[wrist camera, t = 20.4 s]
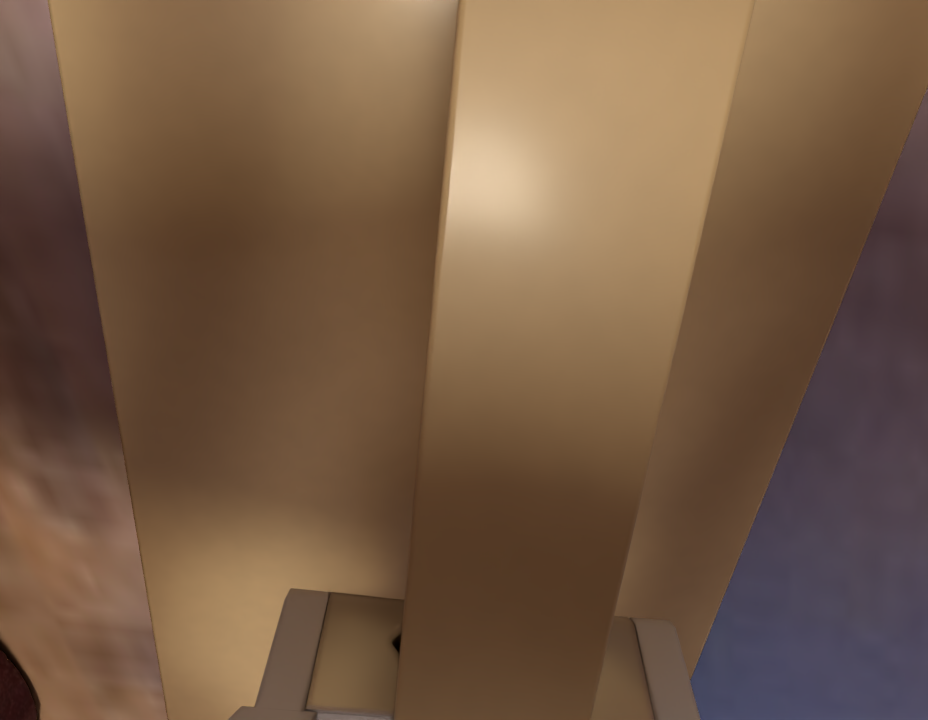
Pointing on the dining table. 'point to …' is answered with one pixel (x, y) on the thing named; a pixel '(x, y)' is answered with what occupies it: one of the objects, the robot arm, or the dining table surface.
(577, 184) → the tan wooden bar
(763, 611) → the dining table surface
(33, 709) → the vegetable
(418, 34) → the board
